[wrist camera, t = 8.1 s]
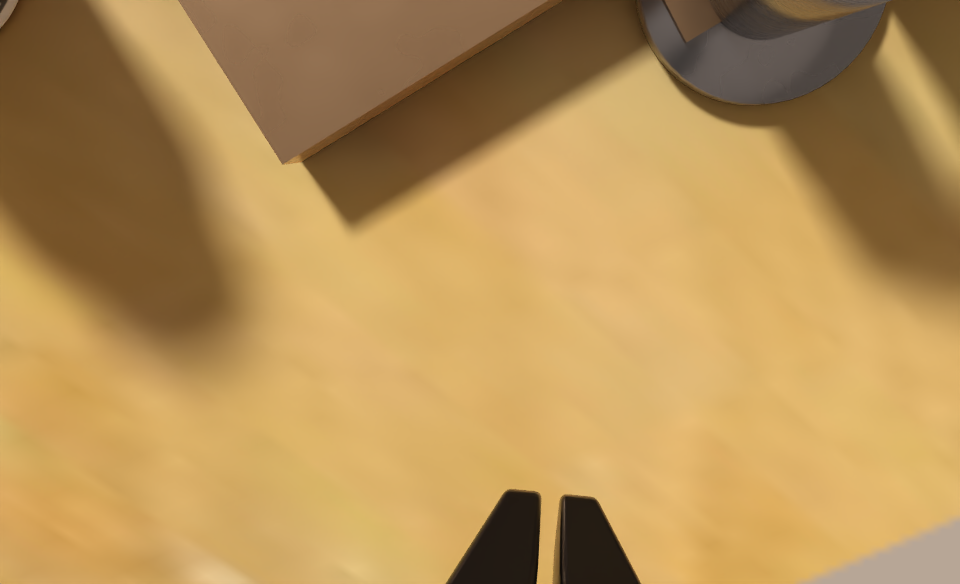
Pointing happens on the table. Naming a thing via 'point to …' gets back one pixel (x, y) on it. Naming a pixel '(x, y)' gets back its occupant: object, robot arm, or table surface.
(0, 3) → the supplement bottle
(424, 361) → the table surface
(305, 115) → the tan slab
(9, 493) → the table surface
